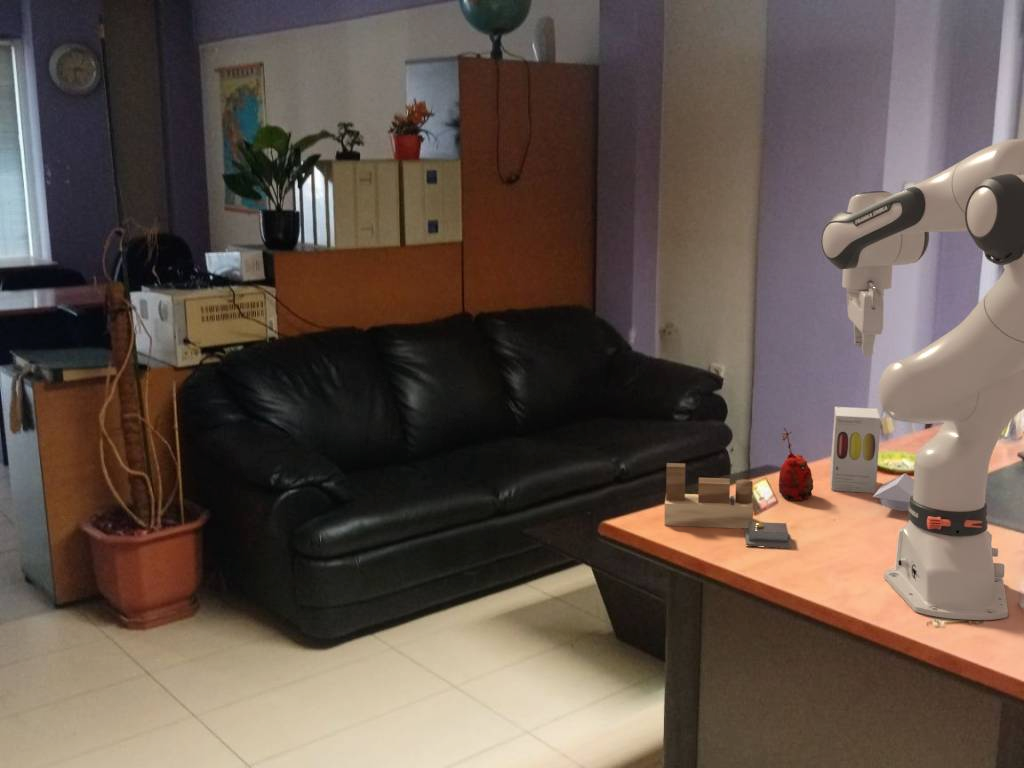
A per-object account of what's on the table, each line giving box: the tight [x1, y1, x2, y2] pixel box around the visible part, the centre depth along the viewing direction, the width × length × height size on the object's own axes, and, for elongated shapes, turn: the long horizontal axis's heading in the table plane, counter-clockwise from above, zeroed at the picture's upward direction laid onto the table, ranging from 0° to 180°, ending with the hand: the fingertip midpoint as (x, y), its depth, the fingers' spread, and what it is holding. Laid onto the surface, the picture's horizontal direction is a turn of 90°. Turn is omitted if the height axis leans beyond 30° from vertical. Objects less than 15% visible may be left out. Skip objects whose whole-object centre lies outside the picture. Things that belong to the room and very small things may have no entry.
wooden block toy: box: [664, 462, 754, 529], centre depth 203 cm, size 6×17×12 cm, turn 79°
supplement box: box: [829, 406, 881, 494], centre depth 222 cm, size 10×9×17 cm
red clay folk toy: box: [778, 427, 814, 502], centre depth 216 cm, size 8×7×15 cm
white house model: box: [872, 472, 914, 512], centre depth 209 cm, size 9×7×13 cm
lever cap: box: [748, 521, 789, 543], centre depth 193 cm, size 5×7×3 cm
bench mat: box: [744, 529, 792, 549], centre depth 193 cm, size 8×8×1 cm
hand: (863, 350), depth 196 cm, fingers open, 8 cm apart
